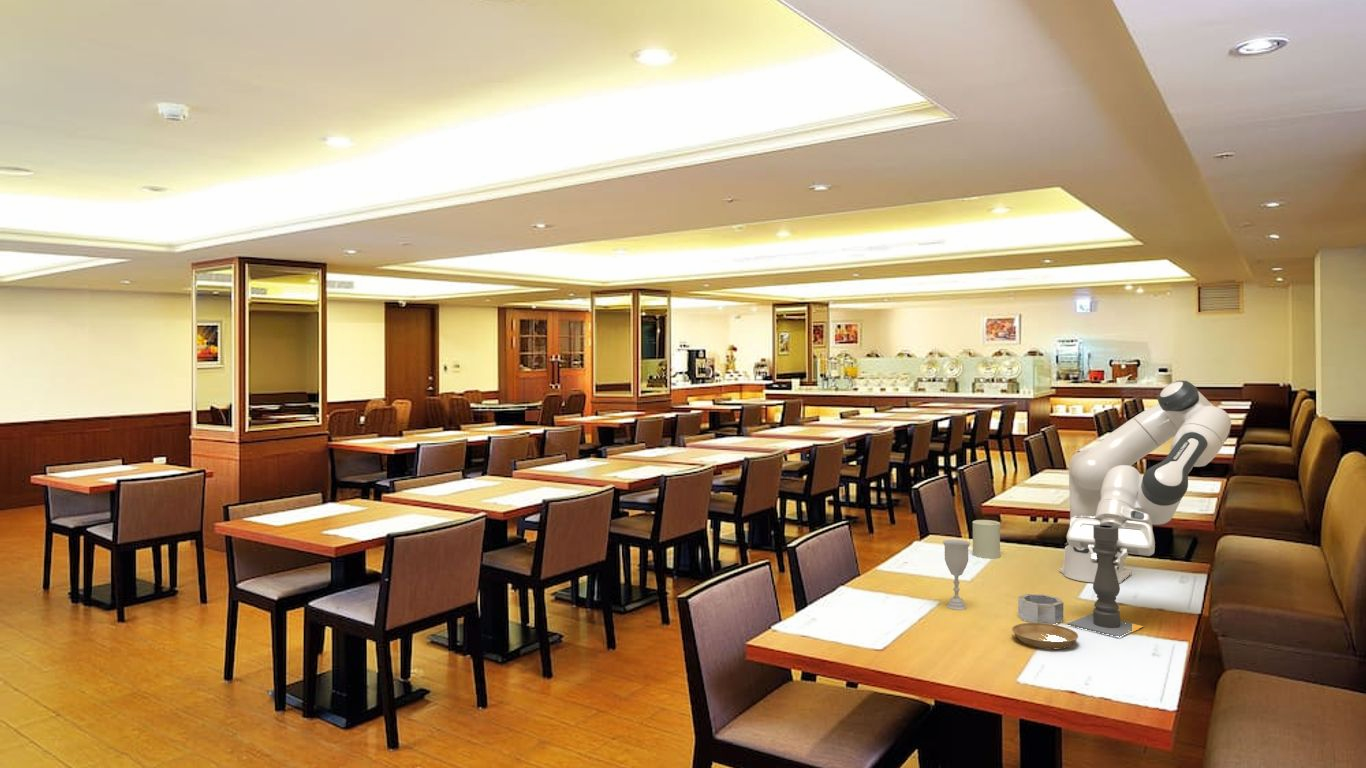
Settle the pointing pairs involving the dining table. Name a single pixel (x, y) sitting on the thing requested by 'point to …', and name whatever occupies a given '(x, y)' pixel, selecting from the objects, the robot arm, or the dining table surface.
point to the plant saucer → (1033, 631)
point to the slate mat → (1089, 625)
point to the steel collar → (1040, 608)
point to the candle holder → (1106, 577)
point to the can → (986, 539)
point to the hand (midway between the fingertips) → (1105, 563)
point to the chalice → (956, 567)
